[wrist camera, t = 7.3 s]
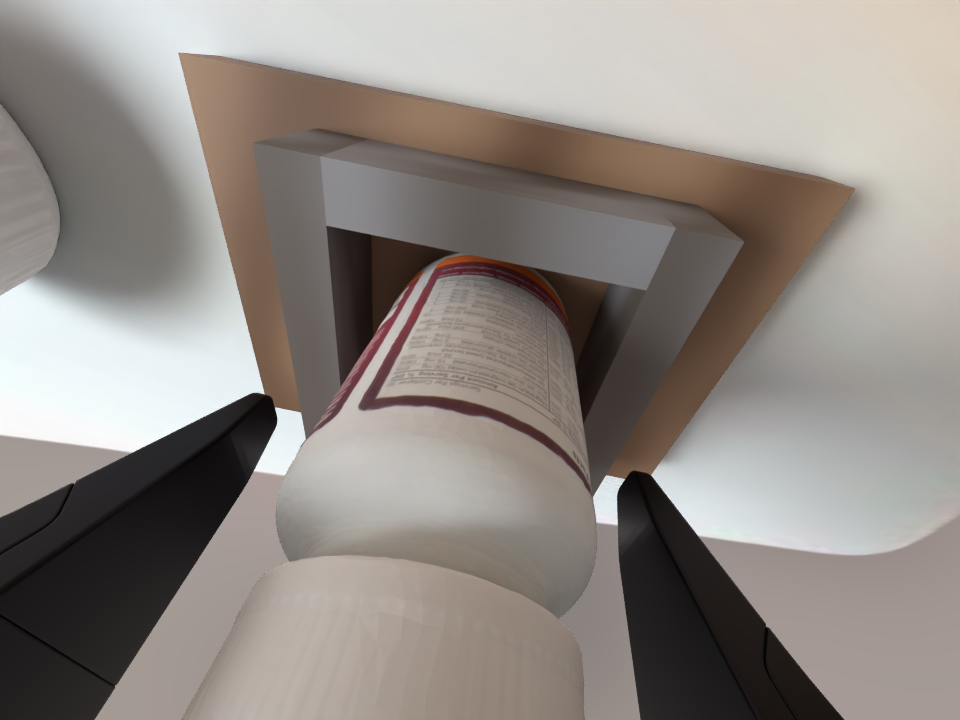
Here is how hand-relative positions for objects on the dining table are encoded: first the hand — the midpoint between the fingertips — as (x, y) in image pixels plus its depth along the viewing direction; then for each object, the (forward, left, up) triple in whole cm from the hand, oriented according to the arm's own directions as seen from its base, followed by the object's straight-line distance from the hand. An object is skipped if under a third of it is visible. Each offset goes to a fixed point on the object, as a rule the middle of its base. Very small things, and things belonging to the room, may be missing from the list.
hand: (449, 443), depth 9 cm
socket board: (0, 0, -7) cm, 7 cm away
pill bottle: (0, 0, -6) cm, 6 cm away
